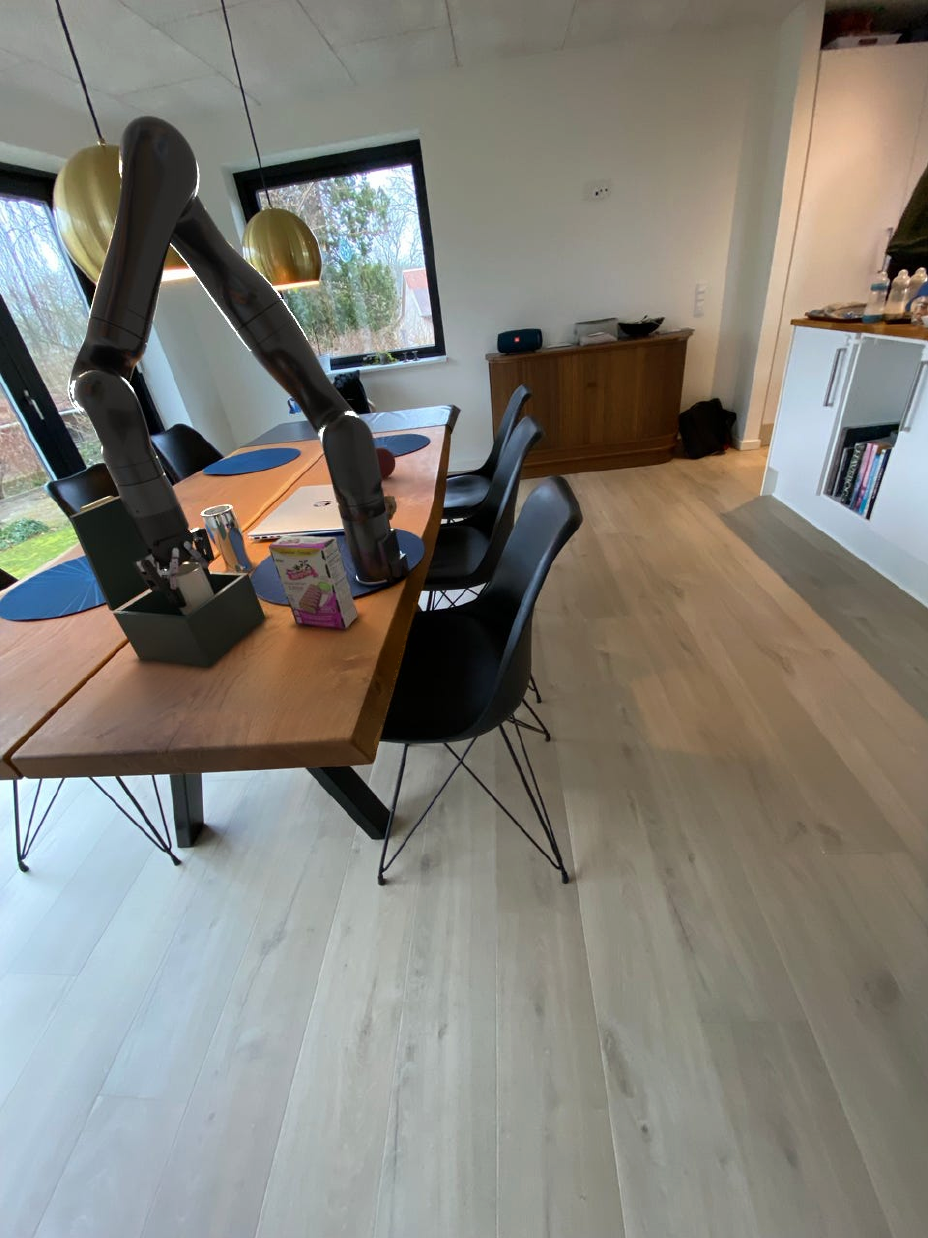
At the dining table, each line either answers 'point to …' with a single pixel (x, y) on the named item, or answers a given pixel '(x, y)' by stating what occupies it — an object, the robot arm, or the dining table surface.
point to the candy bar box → (314, 580)
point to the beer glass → (227, 538)
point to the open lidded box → (192, 623)
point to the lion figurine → (390, 506)
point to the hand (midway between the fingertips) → (195, 596)
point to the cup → (193, 586)
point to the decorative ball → (385, 461)
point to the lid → (111, 549)
